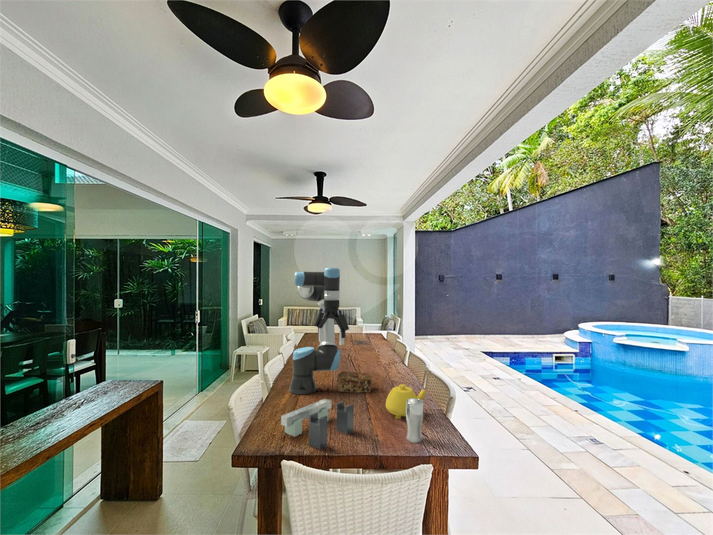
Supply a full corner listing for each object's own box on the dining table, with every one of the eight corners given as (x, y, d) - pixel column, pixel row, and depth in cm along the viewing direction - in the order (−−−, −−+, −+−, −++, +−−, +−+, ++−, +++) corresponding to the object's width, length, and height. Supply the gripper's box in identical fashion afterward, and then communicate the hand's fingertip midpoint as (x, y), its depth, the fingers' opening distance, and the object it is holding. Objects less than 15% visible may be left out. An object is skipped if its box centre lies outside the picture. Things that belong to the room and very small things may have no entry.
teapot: (420, 406, 174) (420, 378, 174) (433, 419, 158) (433, 388, 159) (381, 409, 170) (381, 380, 170) (391, 422, 154) (391, 391, 155)
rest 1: (284, 432, 144) (284, 418, 144) (292, 429, 147) (292, 415, 147) (294, 436, 140) (294, 422, 140) (302, 433, 143) (302, 419, 143)
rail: (281, 424, 140) (281, 415, 141) (325, 406, 161) (325, 398, 161) (286, 427, 138) (286, 418, 138) (331, 407, 159) (331, 400, 159)
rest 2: (312, 420, 156) (312, 407, 156) (318, 417, 159) (319, 404, 159) (322, 423, 152) (322, 410, 152) (328, 420, 156) (328, 407, 156)
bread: (337, 392, 193) (337, 374, 193) (339, 386, 204) (339, 369, 204) (371, 393, 192) (371, 375, 192) (371, 387, 203) (371, 370, 203)
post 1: (308, 444, 133) (309, 415, 134) (316, 441, 137) (316, 412, 137) (319, 449, 130) (320, 419, 130) (327, 445, 133) (327, 415, 133)
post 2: (336, 430, 146) (336, 403, 146) (342, 427, 149) (343, 400, 149) (347, 434, 142) (347, 406, 143) (353, 431, 146) (353, 404, 146)
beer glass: (403, 435, 142) (404, 398, 143) (420, 434, 143) (420, 397, 143) (407, 443, 135) (408, 404, 136) (425, 443, 136) (425, 404, 136)
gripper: (308, 298, 176) (307, 340, 175) (346, 301, 160) (345, 347, 160) (318, 297, 181) (318, 338, 181) (356, 300, 166) (356, 345, 166)
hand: (331, 343), depth 170 cm, fingers open, 13 cm apart
